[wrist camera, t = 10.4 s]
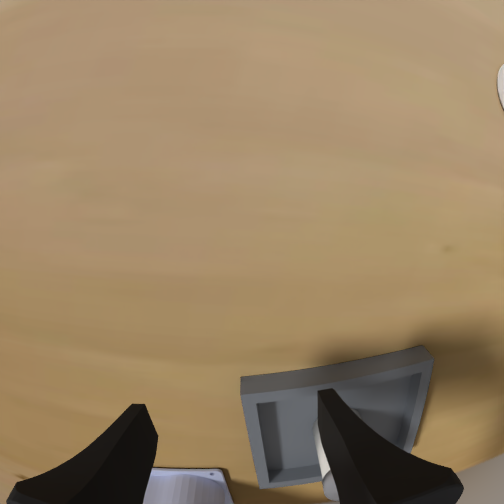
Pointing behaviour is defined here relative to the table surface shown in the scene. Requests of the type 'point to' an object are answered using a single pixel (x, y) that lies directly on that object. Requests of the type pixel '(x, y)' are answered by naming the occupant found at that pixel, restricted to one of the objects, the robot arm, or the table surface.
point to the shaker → (326, 464)
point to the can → (501, 85)
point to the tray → (306, 409)
